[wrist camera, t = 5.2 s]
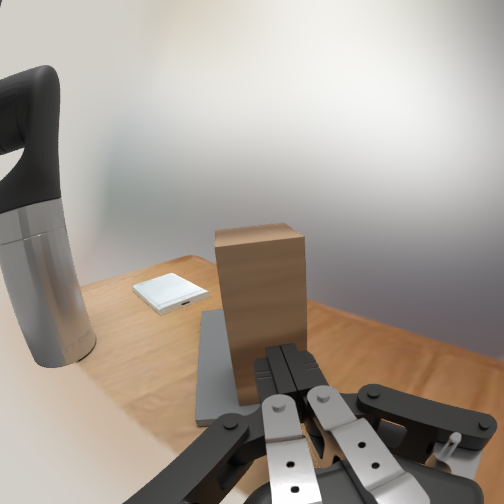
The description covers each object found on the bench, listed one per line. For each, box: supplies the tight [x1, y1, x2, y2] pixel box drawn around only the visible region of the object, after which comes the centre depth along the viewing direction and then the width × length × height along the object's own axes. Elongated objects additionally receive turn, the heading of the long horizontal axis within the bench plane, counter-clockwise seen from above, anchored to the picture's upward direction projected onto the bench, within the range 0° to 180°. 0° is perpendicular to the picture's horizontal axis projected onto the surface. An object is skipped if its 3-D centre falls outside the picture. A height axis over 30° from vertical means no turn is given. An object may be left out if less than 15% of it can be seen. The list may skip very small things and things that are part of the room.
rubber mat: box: [195, 309, 260, 427], centre depth 26 cm, size 18×10×1 cm, turn 7°
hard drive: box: [133, 273, 210, 315], centre depth 43 cm, size 2×8×12 cm
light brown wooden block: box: [215, 223, 307, 406], centre depth 19 cm, size 5×5×12 cm
